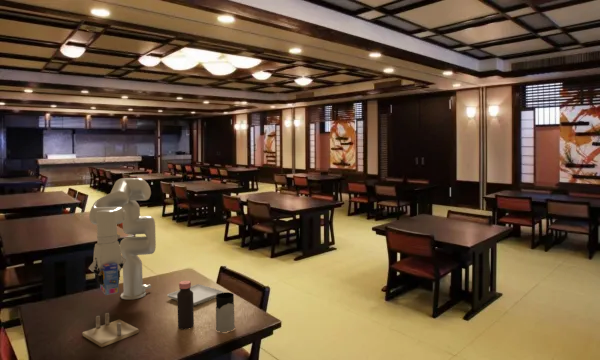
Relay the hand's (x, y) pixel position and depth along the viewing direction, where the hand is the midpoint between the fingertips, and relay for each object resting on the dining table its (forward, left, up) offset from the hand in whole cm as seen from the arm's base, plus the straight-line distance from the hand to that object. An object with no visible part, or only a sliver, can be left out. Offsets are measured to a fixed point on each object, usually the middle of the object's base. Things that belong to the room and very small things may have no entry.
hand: (108, 281), depth 170 cm
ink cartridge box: (0, 0, -4) cm, 4 cm away
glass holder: (-34, +32, -23) cm, 52 cm away
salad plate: (-48, -5, -24) cm, 54 cm away
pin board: (0, 0, -23) cm, 23 cm away
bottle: (-24, +19, -23) cm, 38 cm away
